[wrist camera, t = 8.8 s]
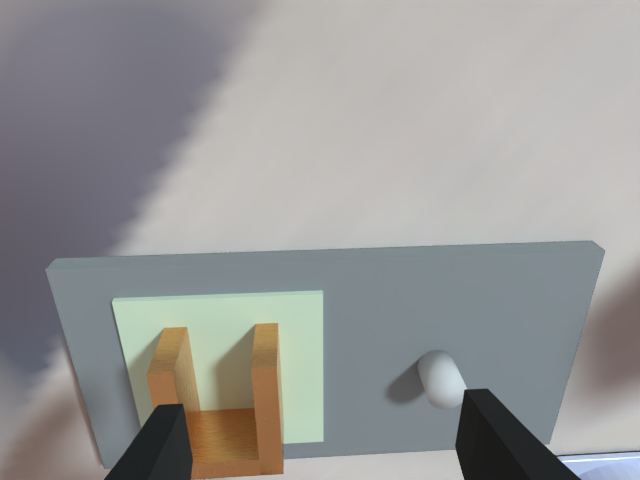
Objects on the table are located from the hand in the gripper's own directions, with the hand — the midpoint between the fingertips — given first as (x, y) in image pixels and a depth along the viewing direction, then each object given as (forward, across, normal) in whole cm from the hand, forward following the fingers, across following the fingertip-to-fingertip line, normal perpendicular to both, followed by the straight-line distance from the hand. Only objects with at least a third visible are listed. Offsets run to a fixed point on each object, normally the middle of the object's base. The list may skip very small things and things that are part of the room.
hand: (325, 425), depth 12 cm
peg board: (+10, -1, +6) cm, 12 cm away
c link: (+9, +4, +6) cm, 11 cm away
